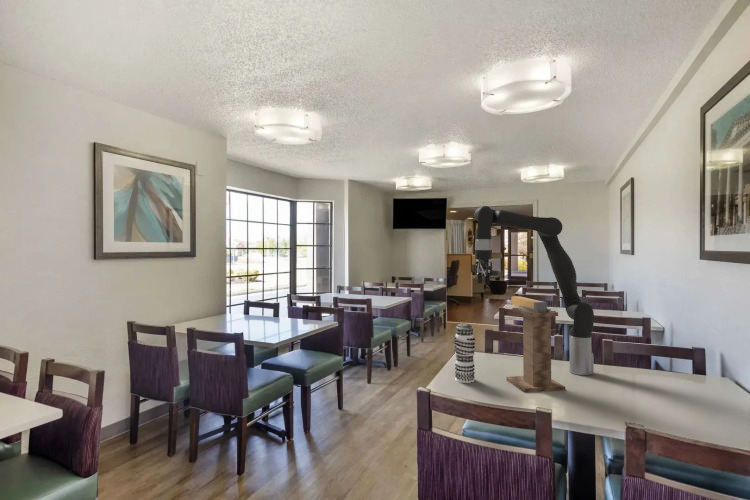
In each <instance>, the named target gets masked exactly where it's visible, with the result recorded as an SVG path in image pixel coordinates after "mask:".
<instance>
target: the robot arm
mask: <svg viewBox="0 0 750 500" xmlns="http://www.w3.org/2000/svg"><path fill="white" fill-rule="evenodd" d="M473 216H474V218H475V220H476V221H477V227H476V229H475V243H474V244H475V245H474V260H476V261H475V265H474V274H476V277H477V284H482V283H483V275H484V285H485V286H489V285H490V284H491V283H490V282H491V281H490V280H491V276H493V262H492V261H490V260H492V258H493V256H492V255H493V254H492V251H493V249H492V248H493V245H492V225H493V224H494V225H497V226H503V227H508V228H514V229H523V230H530V231H535V232H537V234H538V237H539V238H540V240H541V243H542V244H543V247H544V249H545V251H546V255H547V258H548V260H549V263H550V266H551V269H552V272H553V275H554V278H555V280H556V283H557V285H558V288H559V290H560V293H561V296H562V300H563V303H564V309H565V312H566V315H568V316H567V317H569V318H570V319H571V320H573V323H572V324H573V325H572V328H569V333H568V334H569V338H568V339H569V341H568V342H569V344H568V345H569V373H571V374H573V375H577V376H578V375H579V376H591V375H593V374H594V373H595V372H594V371H595V370H594V366H595V365H594V363H595V362H594V353H593V352H592V333H593V331H594V324H595V323H594V321H595V320H594V319H595V318H594V317H595V315H594V309H593V307H592V305H590V303H587V302H584V301H582V300H581V298H580V296H579V293H578V290H577V272H576V269H575V266H574V263H573V261H572V259H571V257H570V256H569V254H568V252H567V251H566V250H565V249H564V247H563V246H562V244H561V242H560V240H559V237H558V236H559V235H560V234H561V233H562V232H563V224H562V221H560V219H559V218H556V217H552V216H550V217H542V216H531V215H528V214H523V213H522V214H521V213H518V212H514V211H508V210H503V209H499V210H498V209H497V210H496V209H493V208H492V207H490V206H487V205H483V206H480V207H478V208H477V209H476V210H475V211H474V213H473ZM477 260H478V261H477Z"/></svg>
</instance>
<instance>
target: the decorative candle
mask: <svg viewBox="0 0 750 500" xmlns="http://www.w3.org/2000/svg"><path fill="white" fill-rule="evenodd" d="M474 329H475V327H474V326H473V325H472V324H471V323H469V322H459V323H458V324H457V325H456V326H455V336H454V339H453V340H454V341H453V342H454V354H455V357H456V358H455V364H454V366H455V368H454V369H455V371H454V374H455V375H454V376H455V378H454V379H455V381H456V382H458V383H462V384H470V383H471V382H472V383H474V382H475V381H474V380H475V378H476V377H475V374H476V372H475V369H476V368H475V367H476V366H475V360H474V355H475V352H476V351H475V350H474V349H476V347H475V345H476V343H475V342H474V341H475V340H476V338H475V337H474V335H475V334H474Z"/></svg>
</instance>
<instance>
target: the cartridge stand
mask: <svg viewBox="0 0 750 500" xmlns="http://www.w3.org/2000/svg"><path fill="white" fill-rule="evenodd" d="M551 309H552V308H547V312H537V310H536V309H532V308H529V307H525V306H521V305H519V307H512V308H511V311H512V312H514V313H516V314H520V315H523V316H522V321H523V322H522V327H523V328H522V331H523V332H522V333H523V337H522V338H523V339H522V341H523V343H522V344H523V345H522V346H523V347H522V348H523V350H522V351H523V357H522V358H523V375H516V376H515V375H512V376H511V375H510V376H506V379H505V380H506V382H508V383H510V384H511V385H513V386H514V387H515V388H516V389H518V390H520V391H521V392H523V393H536V392H537V393H539V392H555V391H558V392H559V391H566V386H565V385H563V384H561V383H560V382H559V381H556V380H554V379H553V378H552V317H559V312H557V311H554V310H551Z"/></svg>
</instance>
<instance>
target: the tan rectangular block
mask: <svg viewBox="0 0 750 500" xmlns="http://www.w3.org/2000/svg"><path fill="white" fill-rule="evenodd" d="M510 300H511V306H514V307H516V308H519V305H521V306H525V307H529V308H532V309H536V310H537V312H547V309H548V302H547V301H542V300H537V299H533V298H530V297H529V298H528V297H524V296H520V295H517V296H514V295H513V296H511V299H510Z"/></svg>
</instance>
